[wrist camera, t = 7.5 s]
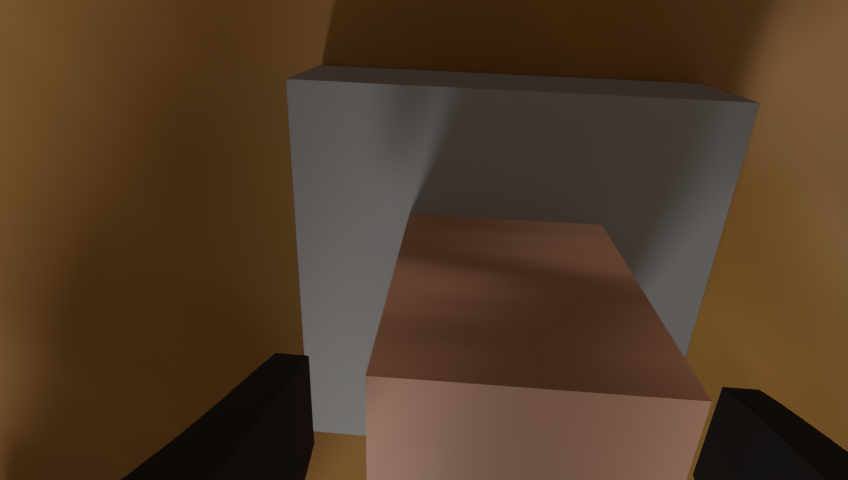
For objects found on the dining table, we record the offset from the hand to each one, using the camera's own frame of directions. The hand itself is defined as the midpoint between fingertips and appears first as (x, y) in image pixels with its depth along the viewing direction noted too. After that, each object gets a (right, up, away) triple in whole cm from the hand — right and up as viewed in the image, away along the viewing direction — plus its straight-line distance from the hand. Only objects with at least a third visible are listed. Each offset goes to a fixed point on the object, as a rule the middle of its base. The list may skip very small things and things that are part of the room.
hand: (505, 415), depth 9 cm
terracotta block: (0, +2, +4) cm, 4 cm away
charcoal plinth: (+1, +3, +7) cm, 7 cm away
